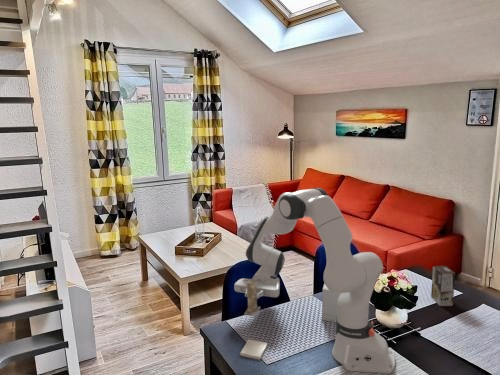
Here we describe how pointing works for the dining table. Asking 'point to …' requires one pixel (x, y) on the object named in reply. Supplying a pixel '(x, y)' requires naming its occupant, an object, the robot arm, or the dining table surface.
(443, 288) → the coffee box
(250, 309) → the wooden post on base
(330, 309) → the supplement box
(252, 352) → the tile
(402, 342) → the dining table surface
